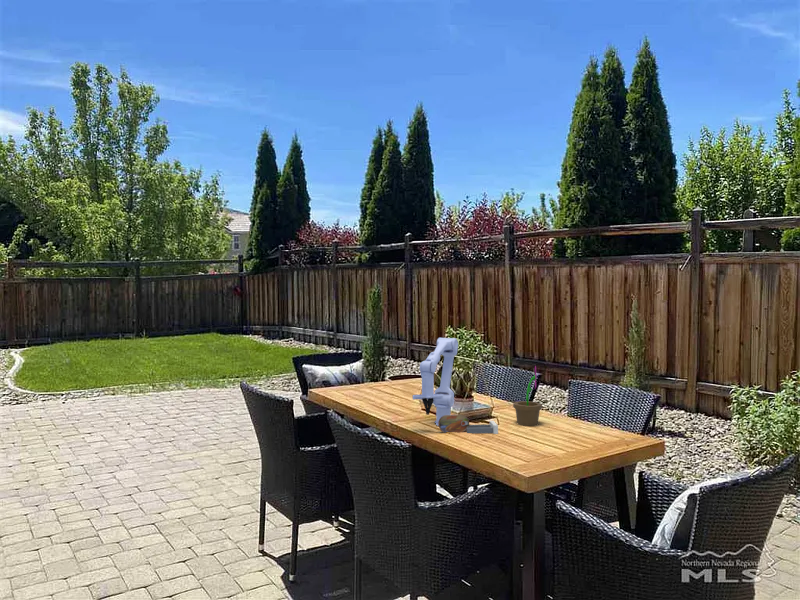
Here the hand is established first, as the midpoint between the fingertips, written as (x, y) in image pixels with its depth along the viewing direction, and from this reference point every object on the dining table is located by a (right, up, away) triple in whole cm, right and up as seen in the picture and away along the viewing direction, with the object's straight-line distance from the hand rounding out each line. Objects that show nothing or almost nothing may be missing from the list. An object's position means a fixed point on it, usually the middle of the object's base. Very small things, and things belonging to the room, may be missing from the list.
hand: (427, 414), depth 283 cm
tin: (+12, -9, +1) cm, 15 cm away
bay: (+25, -9, +1) cm, 26 cm away
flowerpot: (+52, -9, +18) cm, 55 cm away
